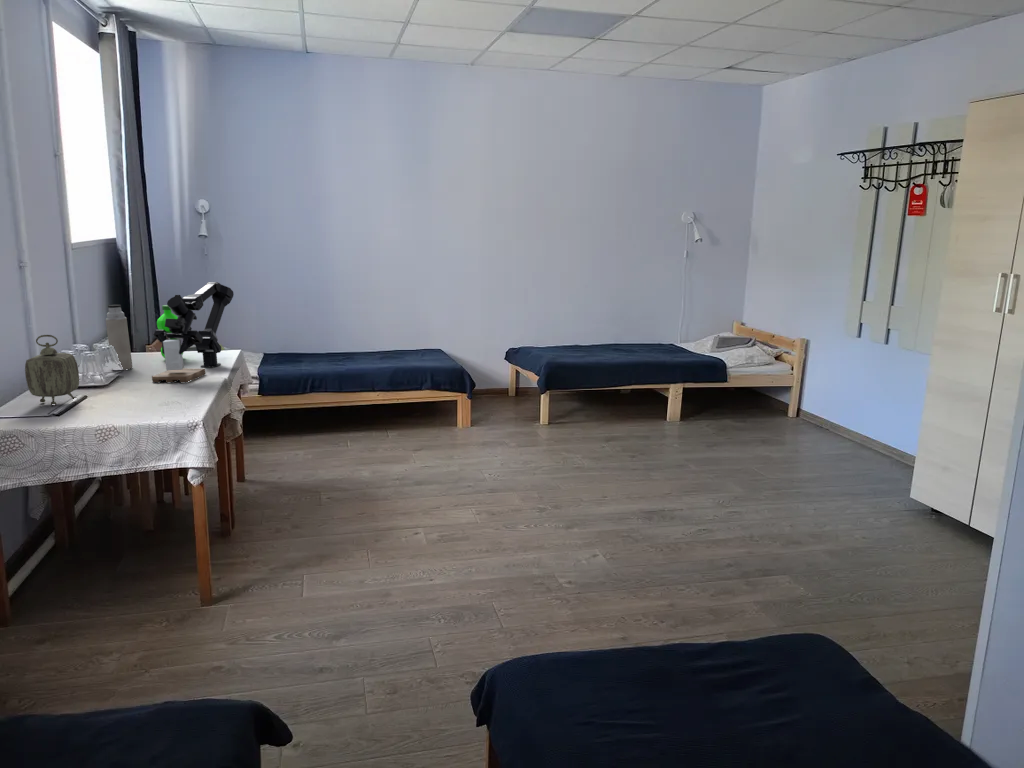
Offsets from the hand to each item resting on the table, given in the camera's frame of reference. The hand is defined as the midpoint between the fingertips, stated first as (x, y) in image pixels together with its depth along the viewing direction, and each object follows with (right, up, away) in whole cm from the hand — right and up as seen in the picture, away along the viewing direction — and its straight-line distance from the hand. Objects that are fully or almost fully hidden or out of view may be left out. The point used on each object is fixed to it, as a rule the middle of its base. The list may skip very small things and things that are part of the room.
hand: (171, 353), depth 300 cm
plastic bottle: (-20, -1, +44) cm, 48 cm away
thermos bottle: (-32, -6, +24) cm, 41 cm away
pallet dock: (+1, -10, +5) cm, 11 cm away
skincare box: (0, -6, +3) cm, 7 cm away
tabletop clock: (-25, -20, -35) cm, 48 cm away
